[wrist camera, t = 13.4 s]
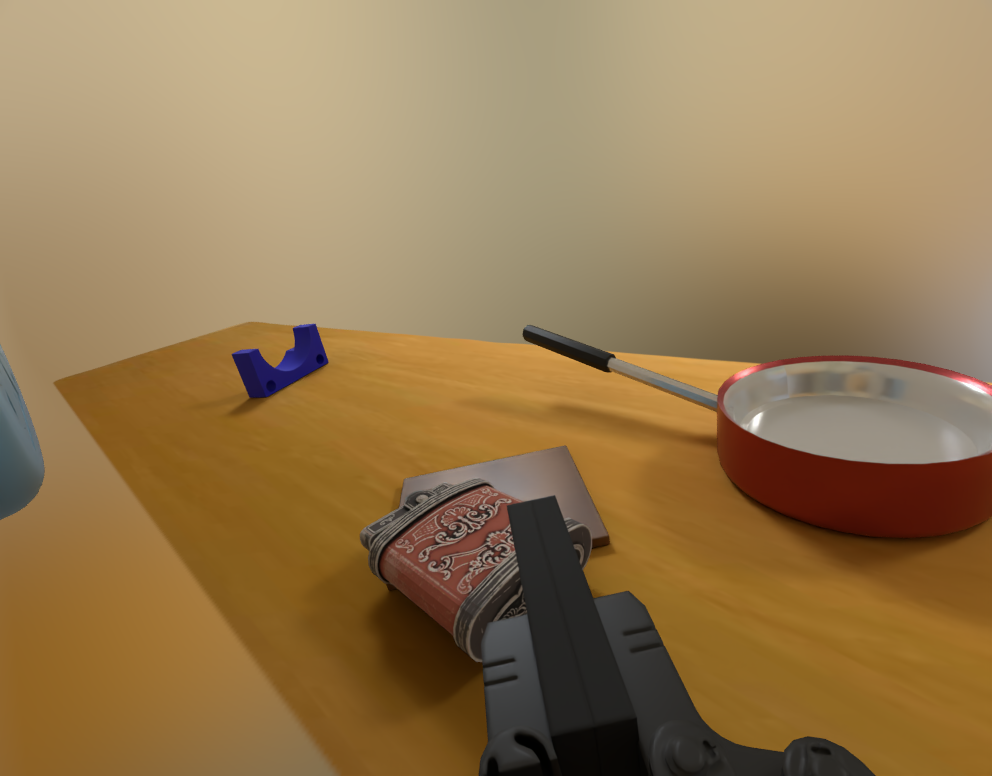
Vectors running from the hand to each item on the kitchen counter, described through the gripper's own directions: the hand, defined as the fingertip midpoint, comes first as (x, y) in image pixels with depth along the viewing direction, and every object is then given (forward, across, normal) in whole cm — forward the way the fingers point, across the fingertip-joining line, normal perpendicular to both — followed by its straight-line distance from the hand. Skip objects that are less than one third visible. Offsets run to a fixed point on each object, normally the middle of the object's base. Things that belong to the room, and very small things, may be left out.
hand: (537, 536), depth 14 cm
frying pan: (+17, +13, -8) cm, 23 cm away
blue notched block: (+52, -28, -8) cm, 59 cm away
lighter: (+4, 0, -6) cm, 7 cm away
